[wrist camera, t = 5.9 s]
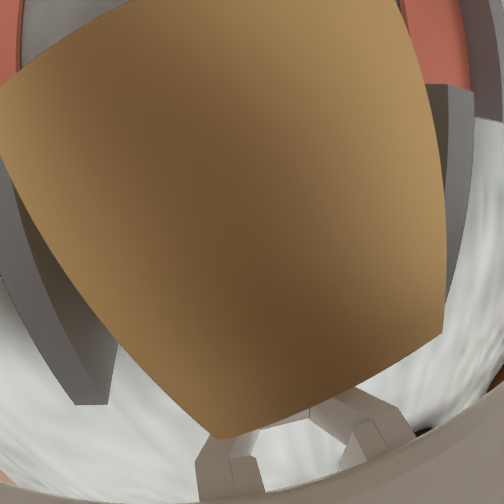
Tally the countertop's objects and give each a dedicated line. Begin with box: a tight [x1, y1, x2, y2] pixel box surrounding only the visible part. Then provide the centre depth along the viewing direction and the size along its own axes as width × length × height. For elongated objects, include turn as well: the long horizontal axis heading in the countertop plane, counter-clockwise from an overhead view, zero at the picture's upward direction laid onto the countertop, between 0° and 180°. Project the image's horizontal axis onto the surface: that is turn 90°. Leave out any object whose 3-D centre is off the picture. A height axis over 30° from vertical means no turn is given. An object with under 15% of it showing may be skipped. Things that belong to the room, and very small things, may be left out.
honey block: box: [0, 0, 447, 440], centre depth 6 cm, size 6×8×5 cm
